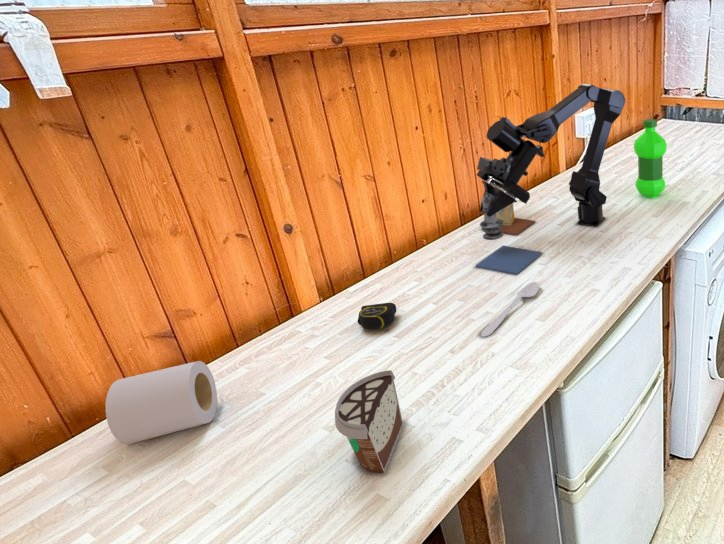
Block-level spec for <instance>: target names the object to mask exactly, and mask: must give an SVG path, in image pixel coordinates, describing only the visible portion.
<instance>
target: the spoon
mask: <svg viewBox="0 0 724 544" xmlns="http://www.w3.org/2000/svg"><path fill="white" fill-rule="evenodd" d="M539 288H540V286H539V283H538V282H536V281H532V282H529V283H528V284H526V285H525V286H523V287H522V288H521V289H520V290H518V292H517V296H516V297H515V298H514V299H513V301H512V302H511V303H510V304H509V305H508V306H507V307H506V308H505V309H504V310H502V312H501V313H500V314H498V316H497V317H496V318H495V319H493V321H491V322H490V323H489V324H488V325H487V326H486V327H485V328H484V329H482V331H481V333H480V335H481V337H483V338H484V337H485V338H486V337H489V336H490V335H492V334H493V333H494V332H495V330H496V329H498V327H499V326H500V324H501V323H502V322H503V321H504V319H505V318H506V317H507V315H508V314H509V312H510V311H511V309H512V308H513V307H514V306H515V304H517V302H518V301H519V300H520V299H521V298H530V297H531V298H532V297H534V296H535V295H536V294H537V293H538V291H539Z"/></svg>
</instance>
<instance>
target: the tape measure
mask: <svg viewBox="0 0 724 544" xmlns="http://www.w3.org/2000/svg"><path fill="white" fill-rule="evenodd" d="M396 313H397V306H396V304H395V303H394V302H384V303H375V304H367V305H362V306H361V307H360V311H359V313H358V317H357V324H358V325H359V326H360V327H362V329H363V330H366V331H377V330H381V329H384V328H387V327H388V326H390V325H391V324H392V323H393V322H394V321H395V319H396Z"/></svg>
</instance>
